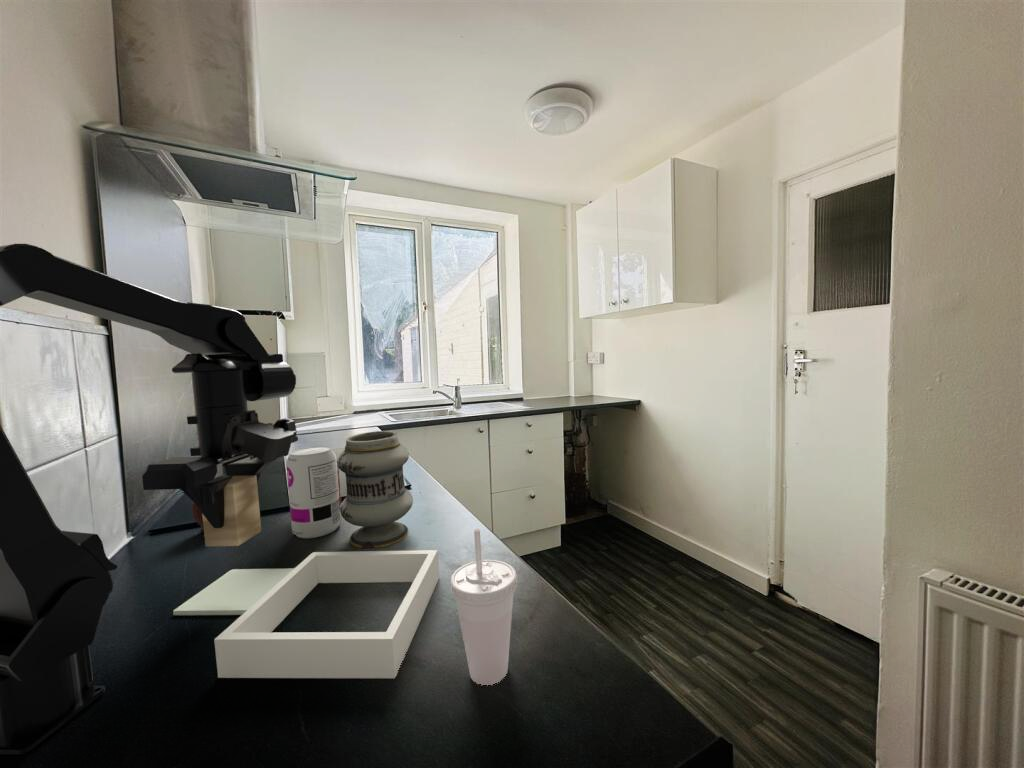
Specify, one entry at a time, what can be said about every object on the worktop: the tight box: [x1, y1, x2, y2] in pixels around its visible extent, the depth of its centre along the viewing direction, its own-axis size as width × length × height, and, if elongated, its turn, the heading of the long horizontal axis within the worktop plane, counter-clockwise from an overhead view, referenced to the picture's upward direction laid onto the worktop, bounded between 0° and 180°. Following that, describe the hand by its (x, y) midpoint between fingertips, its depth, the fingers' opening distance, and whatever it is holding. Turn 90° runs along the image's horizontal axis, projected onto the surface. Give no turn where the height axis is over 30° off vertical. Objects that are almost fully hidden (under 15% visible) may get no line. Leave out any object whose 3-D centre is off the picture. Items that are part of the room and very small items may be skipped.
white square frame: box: [213, 549, 440, 679], centre depth 49 cm, size 18×18×4 cm
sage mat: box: [173, 567, 296, 616], centre depth 57 cm, size 10×10×1 cm
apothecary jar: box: [337, 430, 414, 549], centre depth 72 cm, size 12×12×18 cm
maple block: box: [202, 475, 262, 547], centre depth 56 cm, size 4×4×8 cm
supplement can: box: [285, 445, 342, 539], centre depth 76 cm, size 8×8×15 cm
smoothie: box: [450, 528, 518, 687], centre depth 40 cm, size 6×6×14 cm
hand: (232, 520), depth 56 cm, fingers closed on maple block, 4 cm apart
